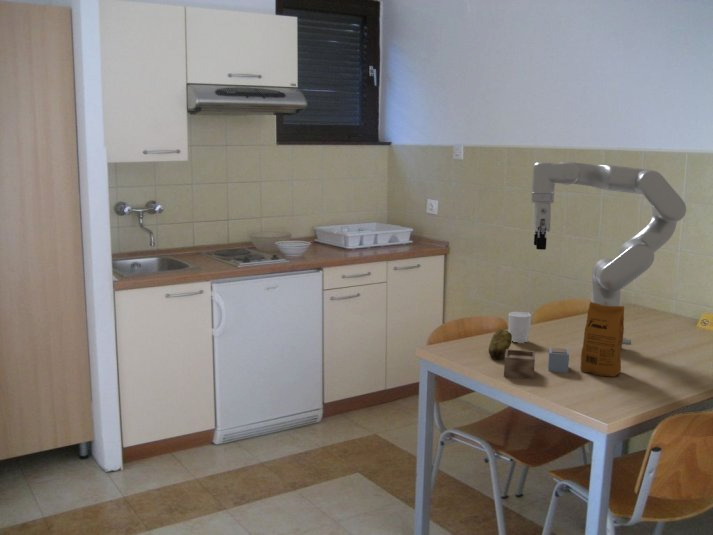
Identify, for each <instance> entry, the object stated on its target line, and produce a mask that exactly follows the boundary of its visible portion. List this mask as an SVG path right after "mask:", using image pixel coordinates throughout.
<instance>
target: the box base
mask: <svg viewBox="0 0 713 535" xmlns="http://www.w3.org/2000/svg"><path fill="white" fill-rule="evenodd" d="M535 363H536V351H535V350H521V349H510V348H509V349H506V352H505V355H504V365H503V368H504V369H503V377H504V376H505V378H515V377H518V378H517V379H527V378H529V379H531V380H534V379H535V378H534V377H535V365H536V364H535Z"/></svg>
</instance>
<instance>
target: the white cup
mask: <svg viewBox="0 0 713 535" xmlns="http://www.w3.org/2000/svg"><path fill="white" fill-rule="evenodd" d="M531 319H532V314H530V313H529V312H524V311H510V312H509V313H508V332H509V333H511V335H512V341H513V342H518V343H517V344H525V343H524V342H527V343H528V342H529V335H530V330H531V329H530V327H531V321H532V320H531ZM513 342H512V343H513Z"/></svg>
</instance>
